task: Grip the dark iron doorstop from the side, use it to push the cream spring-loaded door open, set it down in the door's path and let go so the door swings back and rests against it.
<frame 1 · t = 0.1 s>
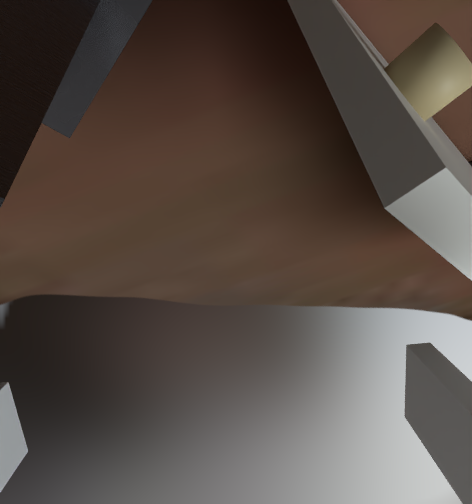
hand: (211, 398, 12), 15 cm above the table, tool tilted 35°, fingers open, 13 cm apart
door: (469, 160, 15), point 8 cm above the table, hinge at 0.0°
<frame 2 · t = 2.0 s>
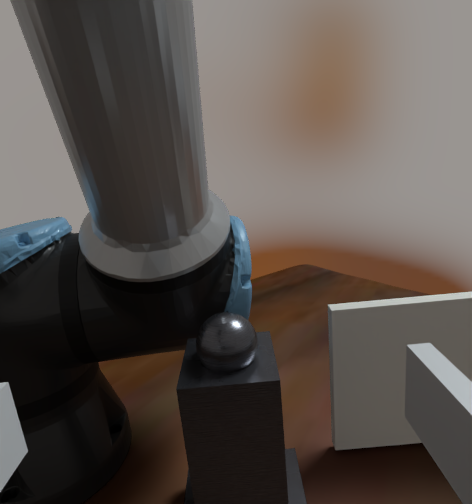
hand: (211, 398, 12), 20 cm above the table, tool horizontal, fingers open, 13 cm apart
door: (422, 366, 34), point 8 cm above the table, hinge at 0.0°
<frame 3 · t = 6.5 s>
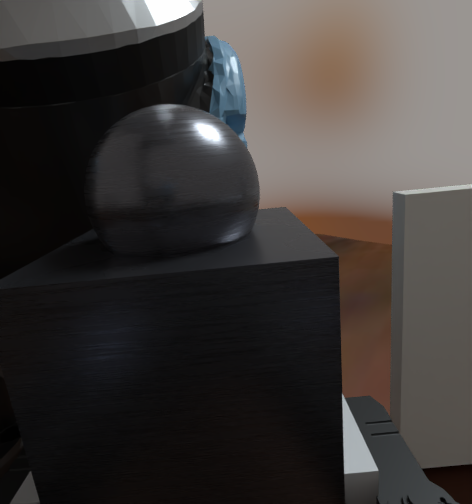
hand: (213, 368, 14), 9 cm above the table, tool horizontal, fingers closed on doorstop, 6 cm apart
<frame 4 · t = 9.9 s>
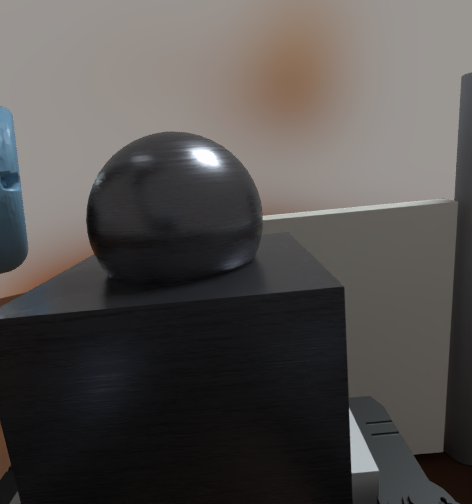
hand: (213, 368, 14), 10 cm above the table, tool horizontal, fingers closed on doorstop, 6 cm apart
wall frame: (466, 448, 21), on the table
door: (281, 340, 20), point 8 cm above the table, hinge at 0.0°
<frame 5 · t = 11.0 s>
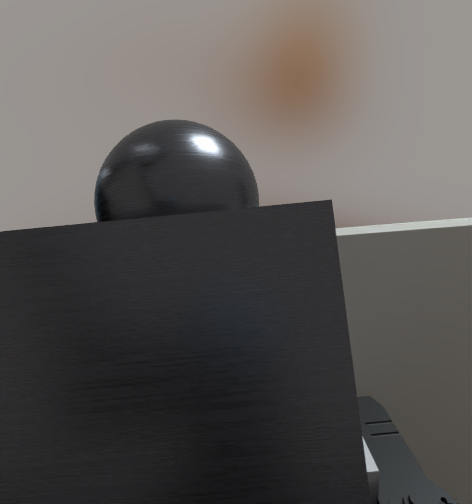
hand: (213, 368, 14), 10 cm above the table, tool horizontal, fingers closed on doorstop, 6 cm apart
door: (296, 387, 16), point 8 cm above the table, hinge at 4.1°, touching gripper
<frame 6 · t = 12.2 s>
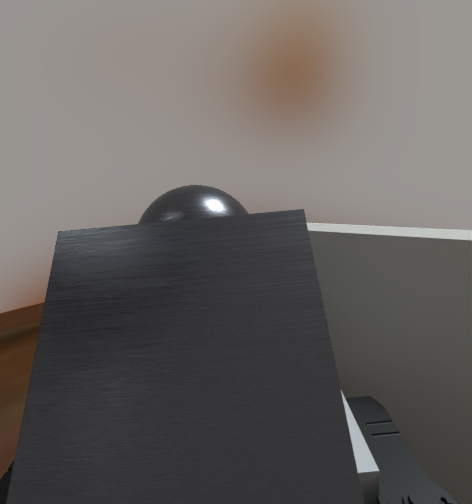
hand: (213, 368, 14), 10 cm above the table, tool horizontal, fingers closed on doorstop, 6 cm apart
door: (349, 389, 15), point 8 cm above the table, hinge at 38.0°, touching gripper
when the fingers open (10 cm above the table, at t = 14.0 s): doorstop stays where it is and tips over, resting on door.
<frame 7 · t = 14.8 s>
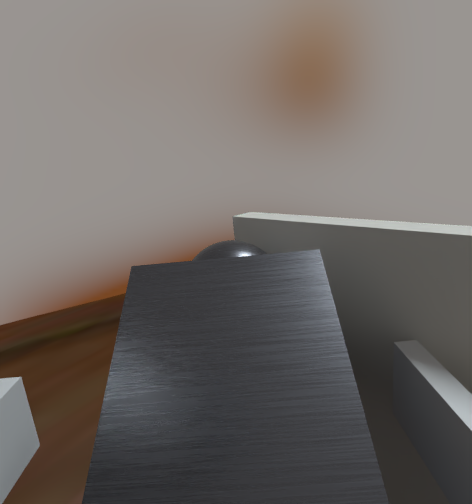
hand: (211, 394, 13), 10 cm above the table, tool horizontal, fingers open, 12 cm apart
door: (424, 402, 14), point 8 cm above the table, hinge at 47.8°, touching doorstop, gripper
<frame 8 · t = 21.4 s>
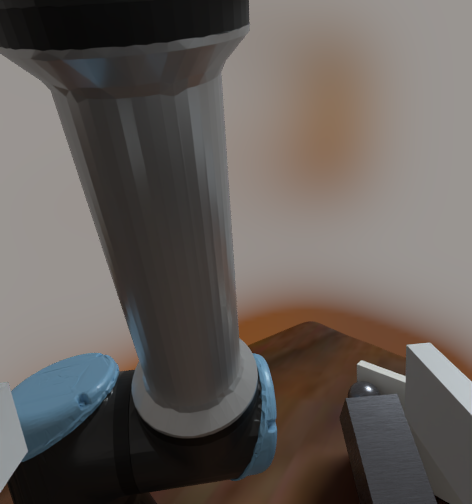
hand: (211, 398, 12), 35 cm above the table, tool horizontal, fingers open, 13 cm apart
door: (425, 433, 46), point 8 cm above the table, hinge at 48.1°, touching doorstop
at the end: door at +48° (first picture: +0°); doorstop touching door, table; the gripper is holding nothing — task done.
